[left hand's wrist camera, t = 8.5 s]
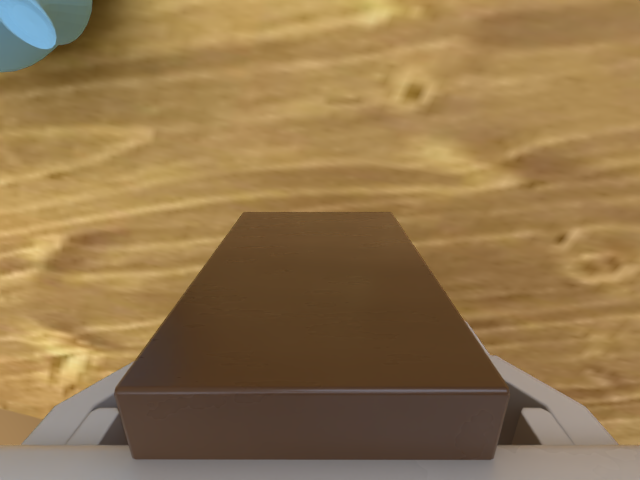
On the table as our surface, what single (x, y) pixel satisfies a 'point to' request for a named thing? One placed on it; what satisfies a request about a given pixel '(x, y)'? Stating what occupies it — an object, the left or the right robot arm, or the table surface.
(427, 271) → the bar
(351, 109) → the table surface
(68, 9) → the teapot
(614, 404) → the table surface
